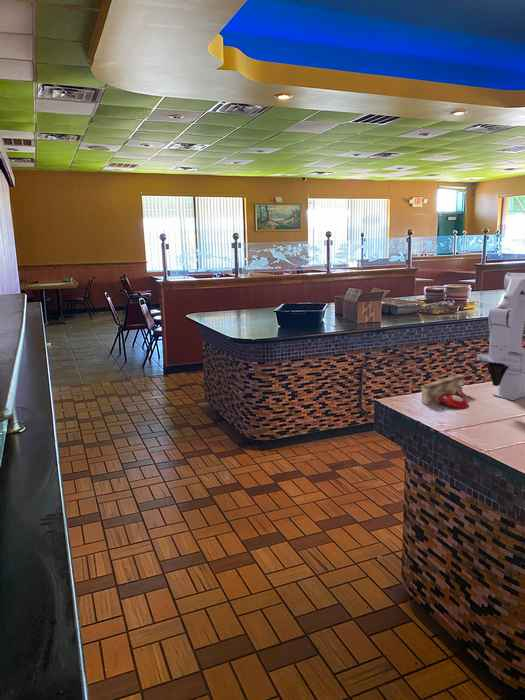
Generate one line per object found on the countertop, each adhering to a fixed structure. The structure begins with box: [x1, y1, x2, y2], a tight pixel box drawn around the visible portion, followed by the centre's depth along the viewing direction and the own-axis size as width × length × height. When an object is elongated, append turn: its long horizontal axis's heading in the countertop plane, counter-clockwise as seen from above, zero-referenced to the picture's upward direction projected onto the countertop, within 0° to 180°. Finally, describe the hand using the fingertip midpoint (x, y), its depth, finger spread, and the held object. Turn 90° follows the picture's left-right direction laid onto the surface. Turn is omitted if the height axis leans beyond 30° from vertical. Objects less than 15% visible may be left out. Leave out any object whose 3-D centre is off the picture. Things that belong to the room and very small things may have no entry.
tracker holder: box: [437, 389, 469, 410], centre depth 185 cm, size 12×4×10 cm
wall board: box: [421, 373, 466, 405], centre depth 191 cm, size 20×3×7 cm, turn 124°
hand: (496, 385), depth 175 cm, fingers closed
